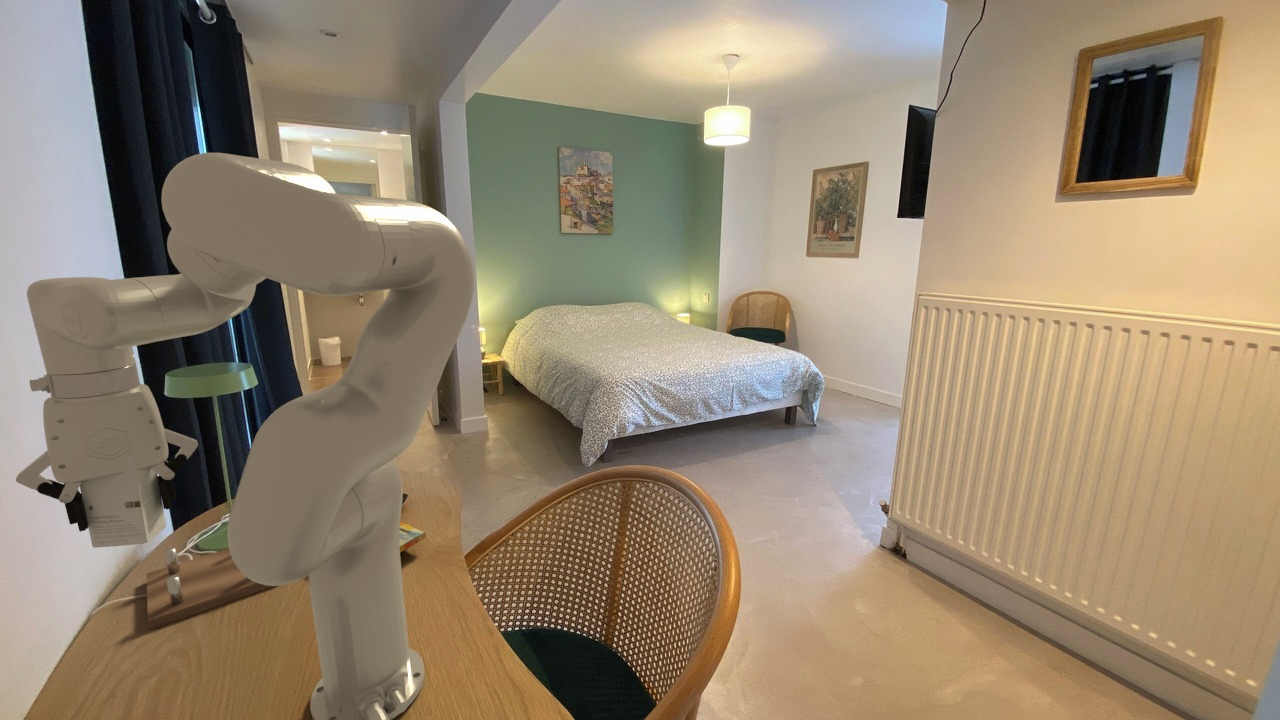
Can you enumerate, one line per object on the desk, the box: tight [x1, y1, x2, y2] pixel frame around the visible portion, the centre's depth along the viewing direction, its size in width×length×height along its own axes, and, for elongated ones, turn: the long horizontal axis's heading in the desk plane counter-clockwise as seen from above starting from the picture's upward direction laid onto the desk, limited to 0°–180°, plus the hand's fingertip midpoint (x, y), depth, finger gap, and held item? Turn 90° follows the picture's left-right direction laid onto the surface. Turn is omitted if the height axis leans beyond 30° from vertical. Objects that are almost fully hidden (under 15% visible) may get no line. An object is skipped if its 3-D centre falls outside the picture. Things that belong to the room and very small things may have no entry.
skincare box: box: [79, 454, 167, 549], centre depth 67 cm, size 6×4×12 cm
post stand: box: [146, 546, 273, 631], centre depth 85 cm, size 14×16×6 cm
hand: (127, 514), depth 68 cm, fingers closed on skincare box, 7 cm apart
